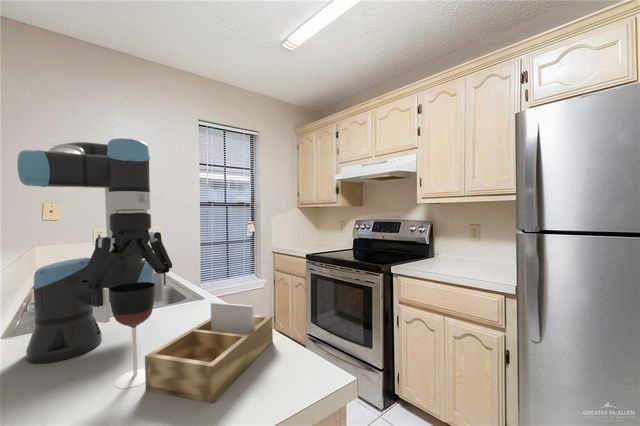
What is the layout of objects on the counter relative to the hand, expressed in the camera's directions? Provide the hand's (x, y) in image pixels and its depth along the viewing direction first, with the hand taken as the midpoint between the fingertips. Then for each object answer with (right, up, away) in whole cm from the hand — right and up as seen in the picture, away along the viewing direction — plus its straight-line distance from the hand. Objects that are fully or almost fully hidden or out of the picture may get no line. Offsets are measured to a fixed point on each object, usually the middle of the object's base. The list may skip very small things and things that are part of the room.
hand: (133, 310), depth 64 cm
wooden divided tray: (+16, -15, +6) cm, 23 cm away
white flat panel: (+18, -13, +12) cm, 25 cm away
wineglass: (0, -15, +1) cm, 15 cm away
